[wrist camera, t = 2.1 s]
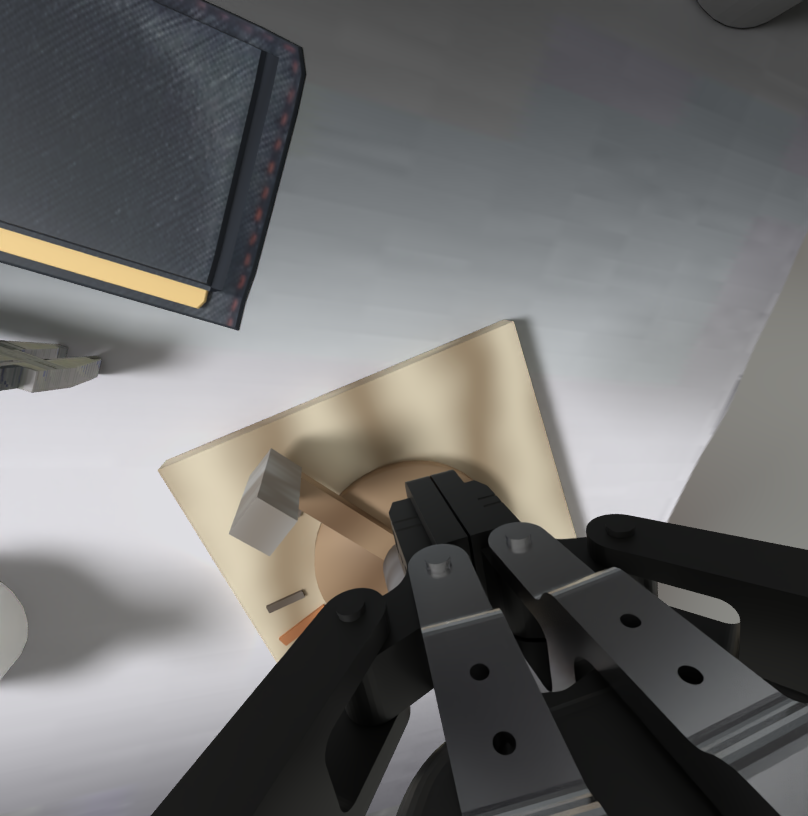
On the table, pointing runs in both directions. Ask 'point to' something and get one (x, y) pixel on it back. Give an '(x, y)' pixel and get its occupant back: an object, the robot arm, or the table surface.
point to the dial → (332, 520)
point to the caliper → (43, 367)
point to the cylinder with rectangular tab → (11, 629)
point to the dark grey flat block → (143, 147)
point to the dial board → (374, 462)
